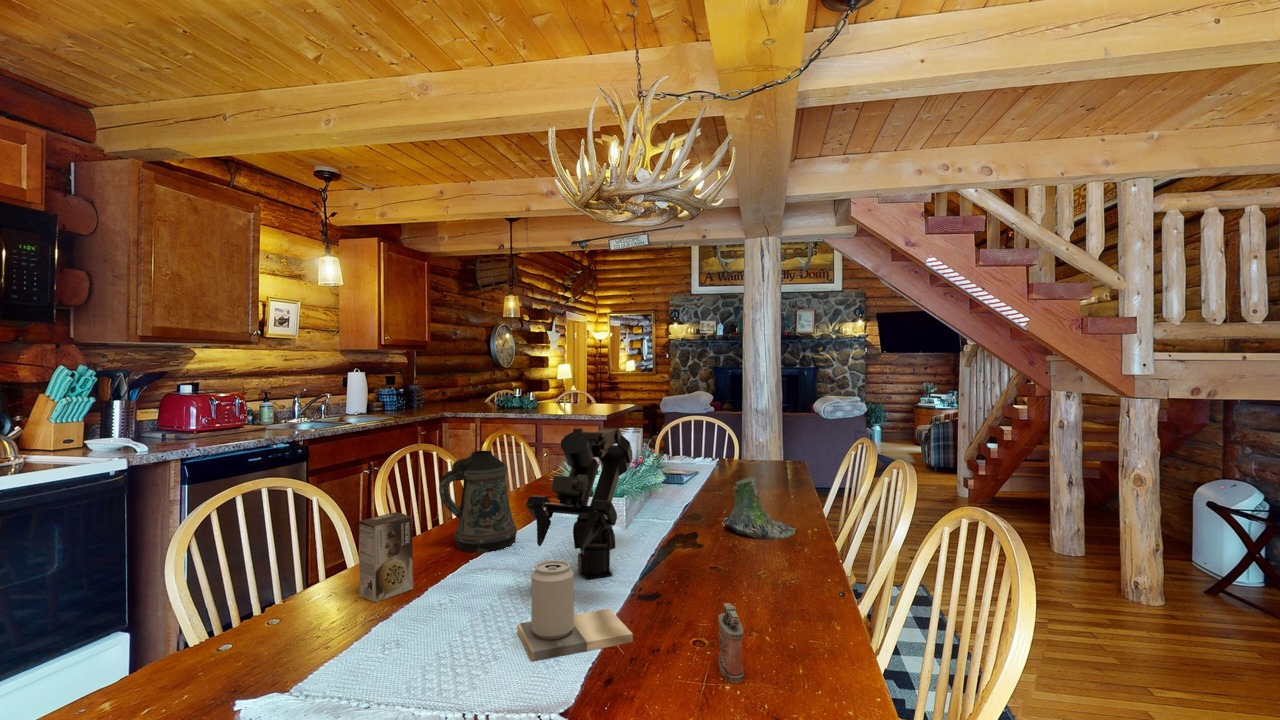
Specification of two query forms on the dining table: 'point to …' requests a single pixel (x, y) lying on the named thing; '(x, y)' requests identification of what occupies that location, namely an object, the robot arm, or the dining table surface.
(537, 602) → the can
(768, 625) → the dining table surface
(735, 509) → the tree stump
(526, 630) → the subfloor panel
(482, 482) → the beer stein
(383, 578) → the coffee box
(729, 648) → the lighter
